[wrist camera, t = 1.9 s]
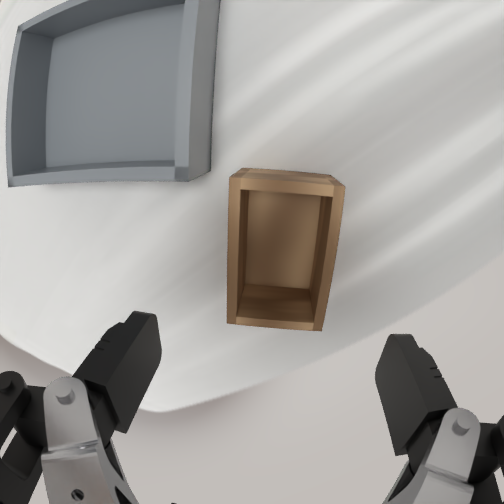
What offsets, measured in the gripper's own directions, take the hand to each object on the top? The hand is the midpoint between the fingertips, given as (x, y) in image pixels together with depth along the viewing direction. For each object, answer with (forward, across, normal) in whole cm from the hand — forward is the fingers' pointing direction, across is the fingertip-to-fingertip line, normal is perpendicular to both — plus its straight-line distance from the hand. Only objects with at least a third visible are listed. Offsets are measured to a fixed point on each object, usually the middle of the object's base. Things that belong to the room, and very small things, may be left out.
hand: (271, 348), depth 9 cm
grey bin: (+12, +13, -11) cm, 21 cm away
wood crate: (+12, 0, 0) cm, 13 cm away
